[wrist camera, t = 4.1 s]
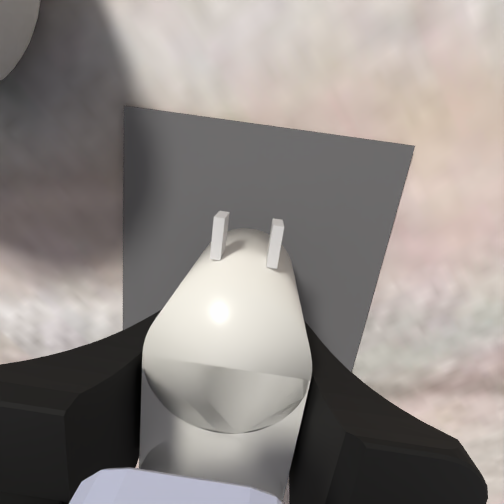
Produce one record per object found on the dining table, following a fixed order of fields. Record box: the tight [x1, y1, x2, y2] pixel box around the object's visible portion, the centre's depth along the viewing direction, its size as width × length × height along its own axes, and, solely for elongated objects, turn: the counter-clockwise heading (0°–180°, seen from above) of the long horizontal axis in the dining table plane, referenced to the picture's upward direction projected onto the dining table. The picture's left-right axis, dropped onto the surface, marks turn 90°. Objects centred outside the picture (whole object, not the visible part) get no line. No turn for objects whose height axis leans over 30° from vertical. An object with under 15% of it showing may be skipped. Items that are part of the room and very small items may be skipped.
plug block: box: [139, 211, 312, 502], centre depth 10 cm, size 9×4×6 cm, turn 172°
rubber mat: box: [123, 106, 415, 372], centre depth 15 cm, size 16×12×1 cm
